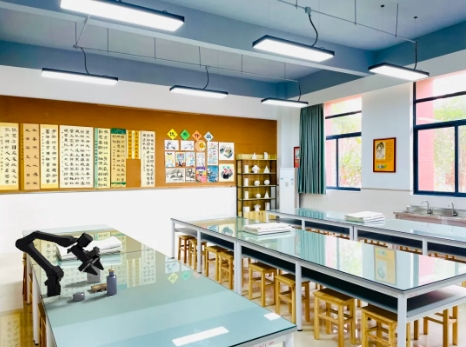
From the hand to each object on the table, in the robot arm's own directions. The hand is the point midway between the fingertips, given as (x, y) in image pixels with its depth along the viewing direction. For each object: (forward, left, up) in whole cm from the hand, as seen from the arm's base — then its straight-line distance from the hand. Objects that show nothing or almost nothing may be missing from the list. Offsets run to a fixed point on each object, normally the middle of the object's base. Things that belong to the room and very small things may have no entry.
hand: (100, 272), depth 197 cm
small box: (+3, +26, -12) cm, 29 cm away
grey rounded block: (-12, -1, -12) cm, 17 cm away
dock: (+2, +8, -12) cm, 14 cm away
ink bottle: (+5, -3, -12) cm, 14 cm away
